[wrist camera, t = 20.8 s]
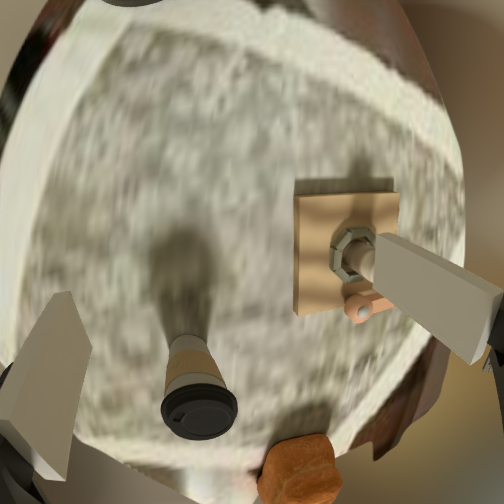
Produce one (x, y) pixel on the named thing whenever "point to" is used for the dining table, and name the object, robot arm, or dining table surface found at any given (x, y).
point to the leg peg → (360, 258)
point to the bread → (300, 472)
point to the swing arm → (365, 306)
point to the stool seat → (335, 244)
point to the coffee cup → (196, 392)
